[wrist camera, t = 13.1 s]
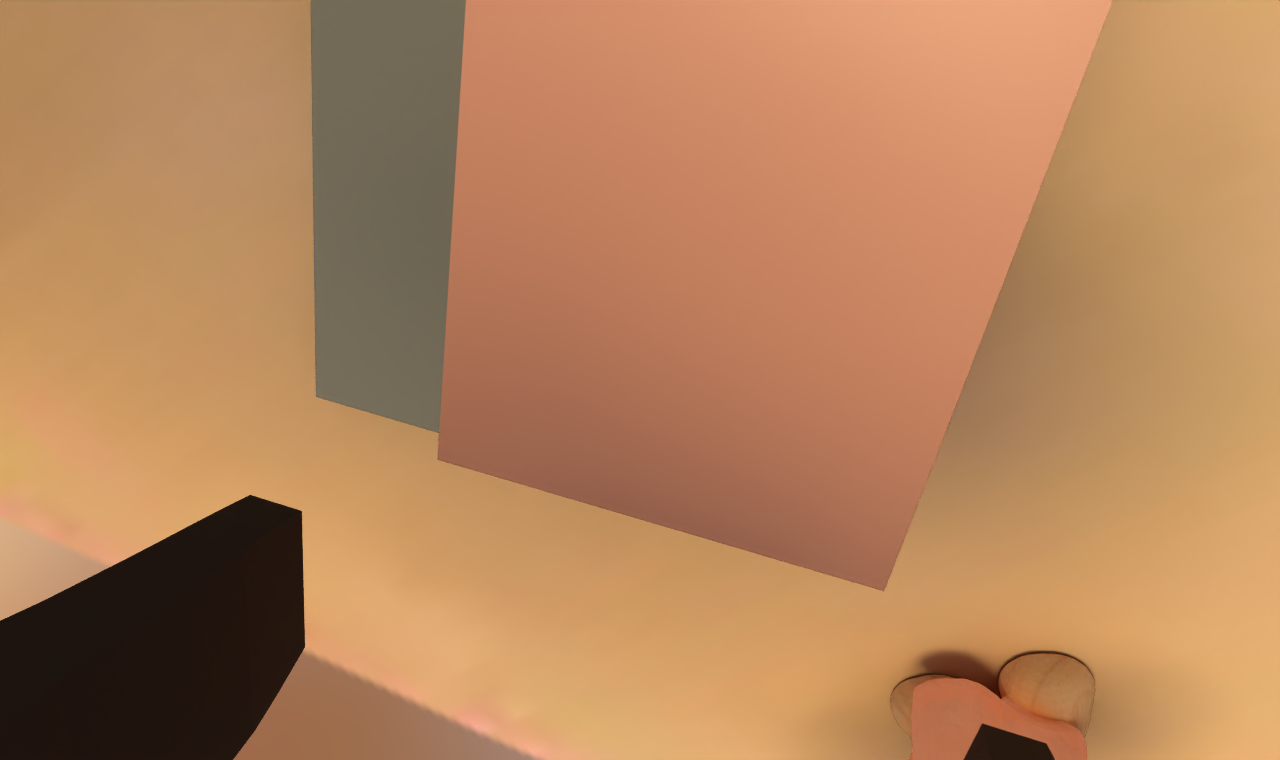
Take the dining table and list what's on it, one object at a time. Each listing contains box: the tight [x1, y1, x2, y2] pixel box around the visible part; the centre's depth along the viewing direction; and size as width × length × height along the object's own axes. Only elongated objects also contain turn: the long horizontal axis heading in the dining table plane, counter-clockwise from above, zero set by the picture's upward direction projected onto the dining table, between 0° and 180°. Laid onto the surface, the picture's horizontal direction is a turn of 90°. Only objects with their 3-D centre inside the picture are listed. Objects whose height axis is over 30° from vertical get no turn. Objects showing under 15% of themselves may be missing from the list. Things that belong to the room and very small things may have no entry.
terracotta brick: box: [438, 0, 1113, 591], centre depth 10 cm, size 5×6×4 cm
